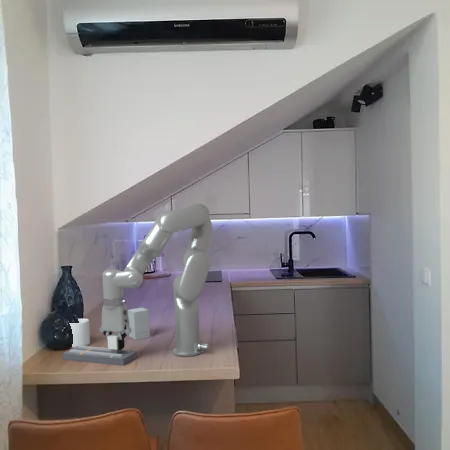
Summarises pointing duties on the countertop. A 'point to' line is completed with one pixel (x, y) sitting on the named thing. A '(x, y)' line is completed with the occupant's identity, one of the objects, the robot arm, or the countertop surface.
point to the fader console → (99, 355)
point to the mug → (80, 333)
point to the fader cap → (113, 343)
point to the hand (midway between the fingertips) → (116, 348)
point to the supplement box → (139, 323)
